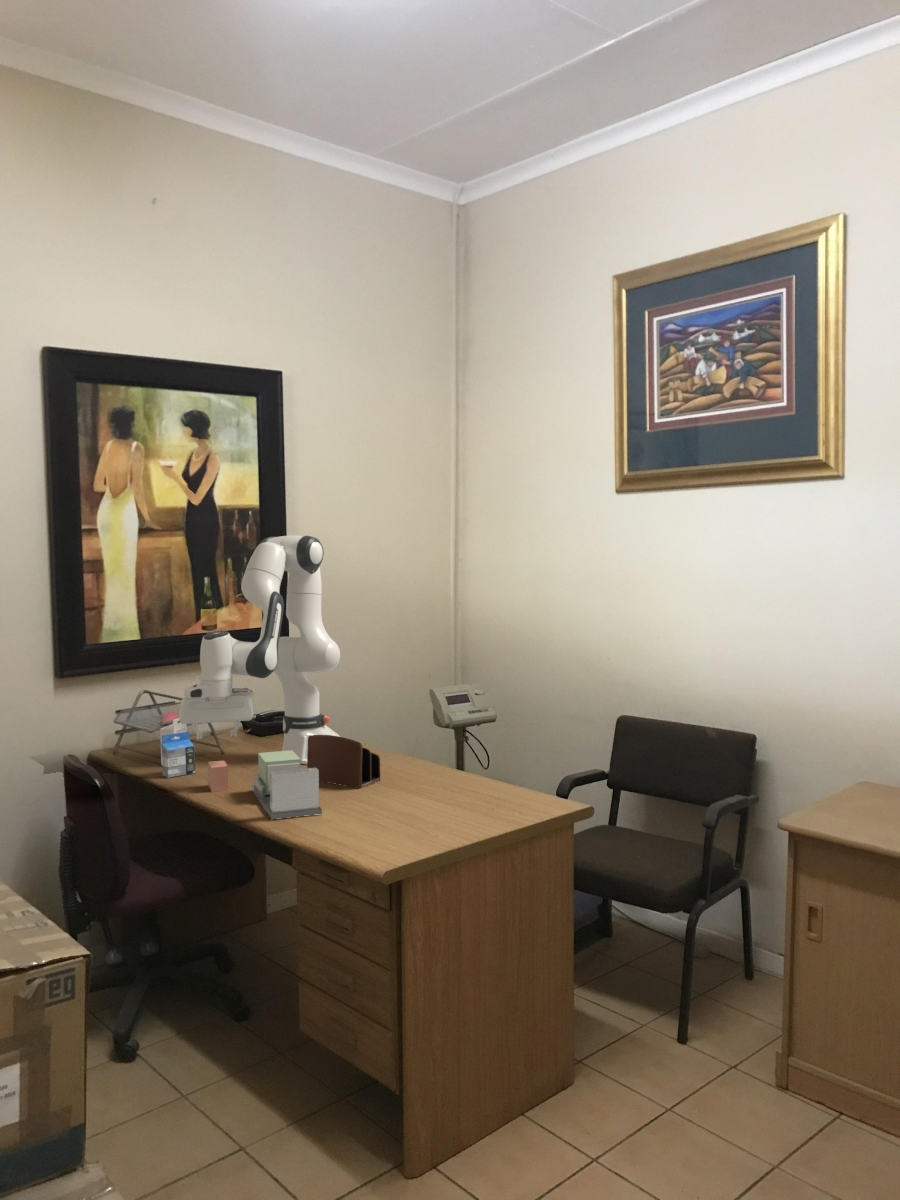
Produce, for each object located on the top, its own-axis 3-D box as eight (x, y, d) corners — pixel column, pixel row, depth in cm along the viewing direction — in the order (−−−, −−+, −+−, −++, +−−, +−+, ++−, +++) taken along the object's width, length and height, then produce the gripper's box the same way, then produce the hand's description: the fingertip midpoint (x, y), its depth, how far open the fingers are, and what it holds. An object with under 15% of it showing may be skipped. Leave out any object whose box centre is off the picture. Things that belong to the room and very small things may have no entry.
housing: (224, 784, 272) (224, 760, 271) (228, 790, 265) (227, 766, 265) (208, 785, 270) (208, 761, 270) (211, 792, 264) (211, 767, 263)
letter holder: (360, 789, 268) (360, 740, 266) (306, 779, 278) (305, 732, 277) (381, 781, 276) (381, 734, 275) (327, 772, 286) (327, 726, 285)
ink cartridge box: (173, 759, 301) (172, 713, 300) (188, 760, 300) (187, 714, 299) (160, 765, 292) (159, 719, 291) (174, 766, 291) (174, 719, 290)
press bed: (251, 790, 265) (251, 750, 264) (297, 786, 270) (297, 746, 269) (271, 820, 238) (270, 775, 237) (321, 814, 243) (321, 771, 242)
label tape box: (167, 778, 278) (167, 737, 277) (161, 775, 281) (161, 735, 280) (195, 773, 283) (194, 733, 282) (189, 770, 286) (188, 731, 286)
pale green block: (258, 784, 265) (258, 753, 264) (292, 781, 268) (292, 750, 268) (266, 795, 254) (265, 762, 253) (301, 792, 258) (301, 759, 257)
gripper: (251, 686, 272) (251, 733, 273) (178, 689, 265) (178, 737, 266) (255, 689, 266) (255, 737, 267) (180, 692, 259) (180, 742, 260)
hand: (216, 737), depth 266 cm, fingers open, 8 cm apart
